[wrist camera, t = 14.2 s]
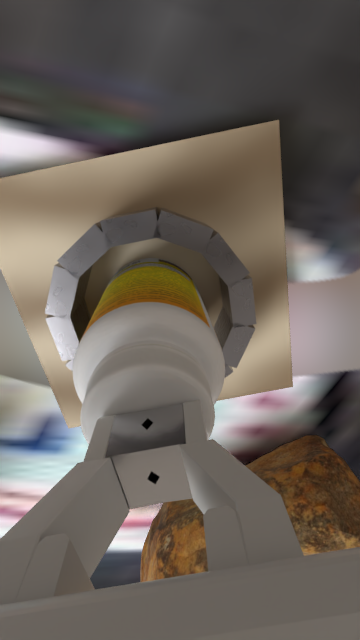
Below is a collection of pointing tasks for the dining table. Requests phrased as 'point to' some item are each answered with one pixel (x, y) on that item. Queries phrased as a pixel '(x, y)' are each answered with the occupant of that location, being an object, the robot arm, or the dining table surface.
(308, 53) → the dining table surface
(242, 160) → the birch board
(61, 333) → the grey segmented ring
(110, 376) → the supplement bottle
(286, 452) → the rough brown rock
